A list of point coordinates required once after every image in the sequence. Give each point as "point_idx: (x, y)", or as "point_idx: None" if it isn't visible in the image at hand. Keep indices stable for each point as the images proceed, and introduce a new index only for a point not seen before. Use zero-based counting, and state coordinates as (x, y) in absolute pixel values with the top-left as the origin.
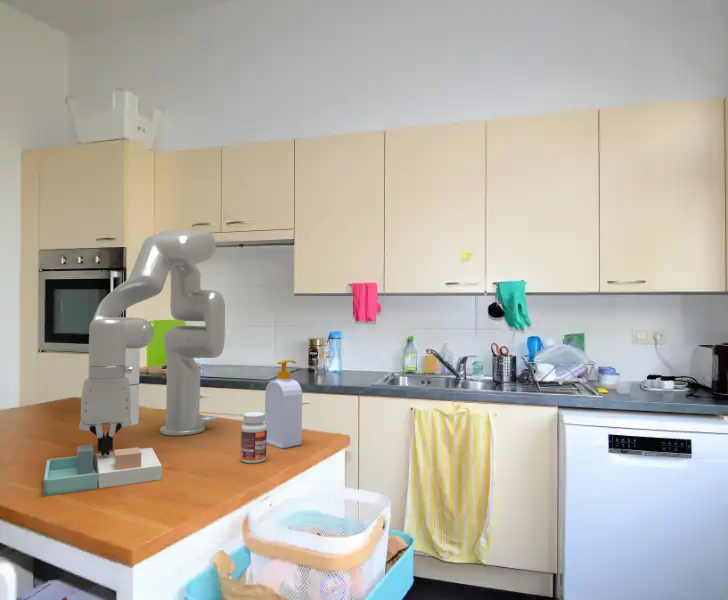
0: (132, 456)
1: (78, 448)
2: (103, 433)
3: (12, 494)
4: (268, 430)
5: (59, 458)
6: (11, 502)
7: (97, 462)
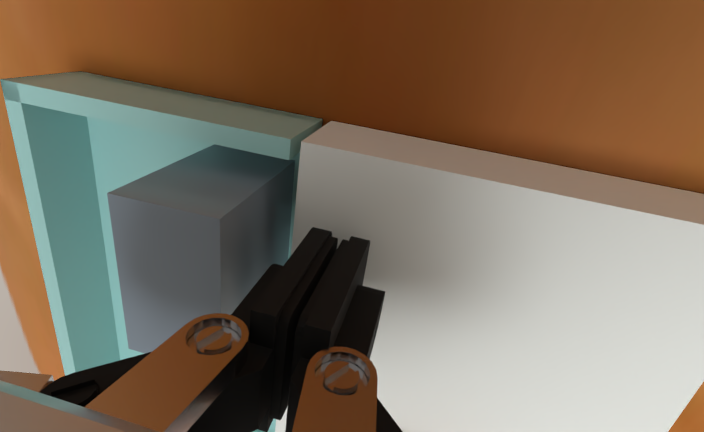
0: None
1: (124, 272)
2: (248, 409)
3: (24, 296)
4: None
5: (68, 108)
6: (46, 367)
7: None
